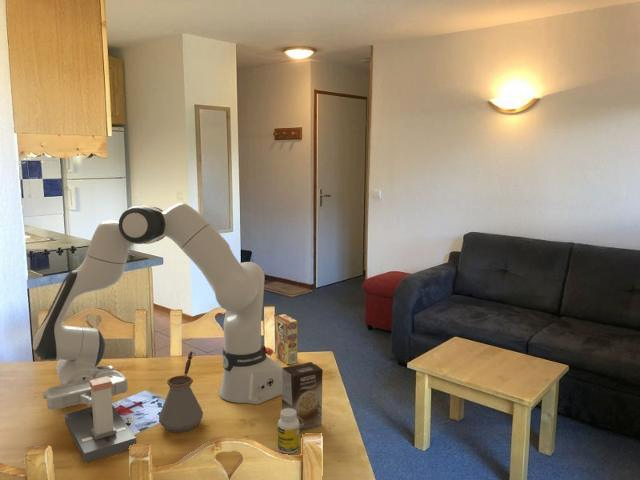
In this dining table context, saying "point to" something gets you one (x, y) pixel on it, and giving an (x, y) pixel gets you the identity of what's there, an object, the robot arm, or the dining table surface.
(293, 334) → the candy box
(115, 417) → the fader console
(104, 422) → the fader knob
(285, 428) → the supplement bottle
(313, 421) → the coffee box
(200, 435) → the dining table surface
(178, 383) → the coffee pot
